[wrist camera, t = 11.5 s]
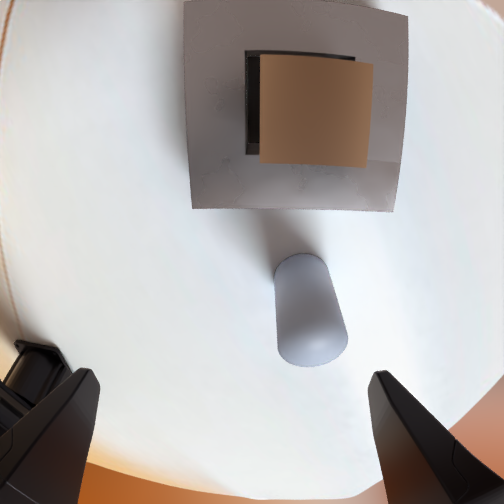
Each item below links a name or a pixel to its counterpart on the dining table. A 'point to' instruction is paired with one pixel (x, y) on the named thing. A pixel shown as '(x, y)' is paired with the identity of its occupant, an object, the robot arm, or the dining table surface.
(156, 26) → the dining table surface
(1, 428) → the robot arm
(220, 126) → the socket block
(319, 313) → the round dowel
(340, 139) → the square peg
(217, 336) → the dining table surface
